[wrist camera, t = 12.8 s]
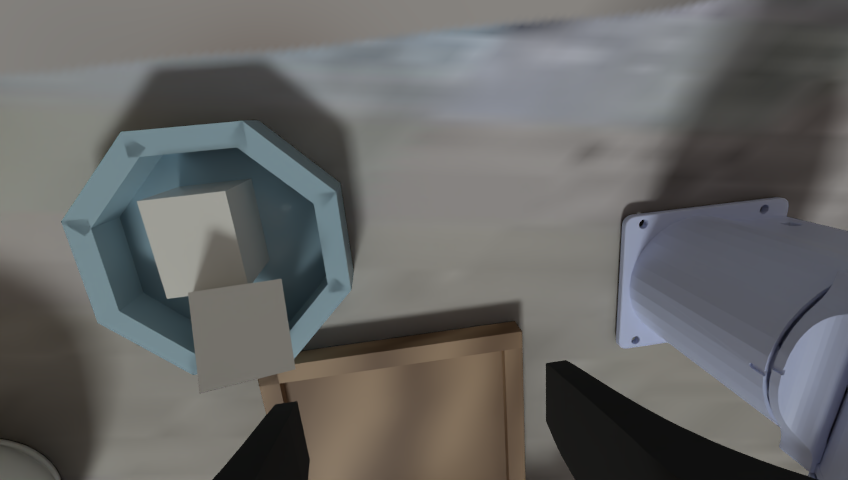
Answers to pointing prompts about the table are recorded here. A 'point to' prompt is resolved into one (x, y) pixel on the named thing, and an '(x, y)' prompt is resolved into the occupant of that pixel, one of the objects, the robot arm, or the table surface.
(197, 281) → the light grey block
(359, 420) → the tray
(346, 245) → the bowl
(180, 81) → the table surface
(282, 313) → the sharp-edged grey cuboid
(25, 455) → the lidded jar
